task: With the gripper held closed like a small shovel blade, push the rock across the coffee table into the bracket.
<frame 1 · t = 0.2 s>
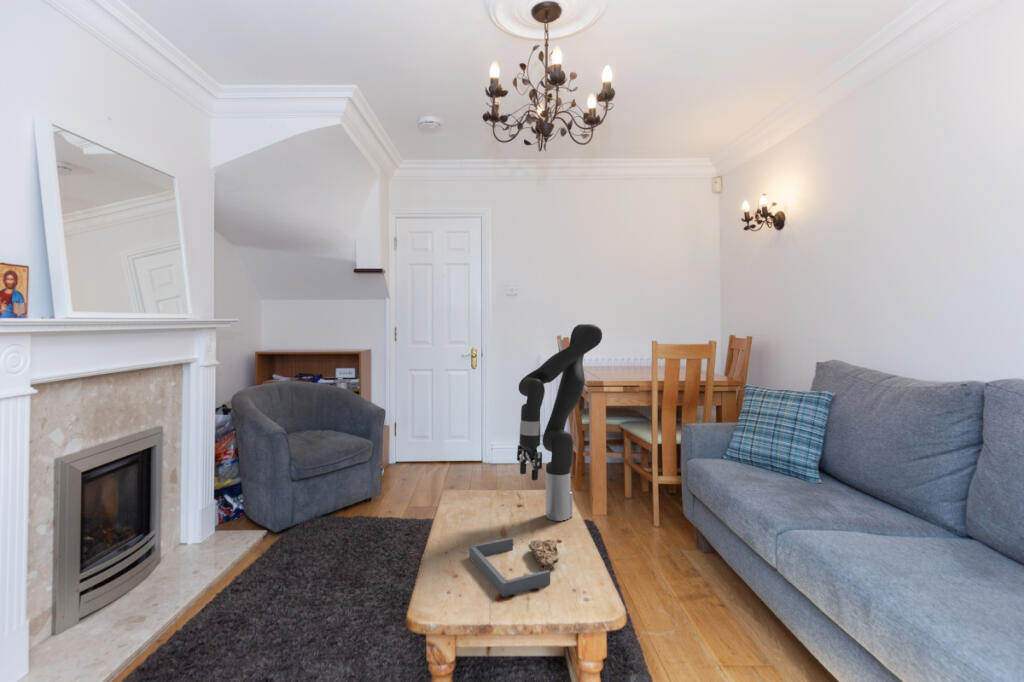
hand: (528, 476, 175), 17 cm above the table, tool pointing down, fingers open, 8 cm apart
bracket: (506, 570, 141), on the table
rock: (548, 562, 147), on the table
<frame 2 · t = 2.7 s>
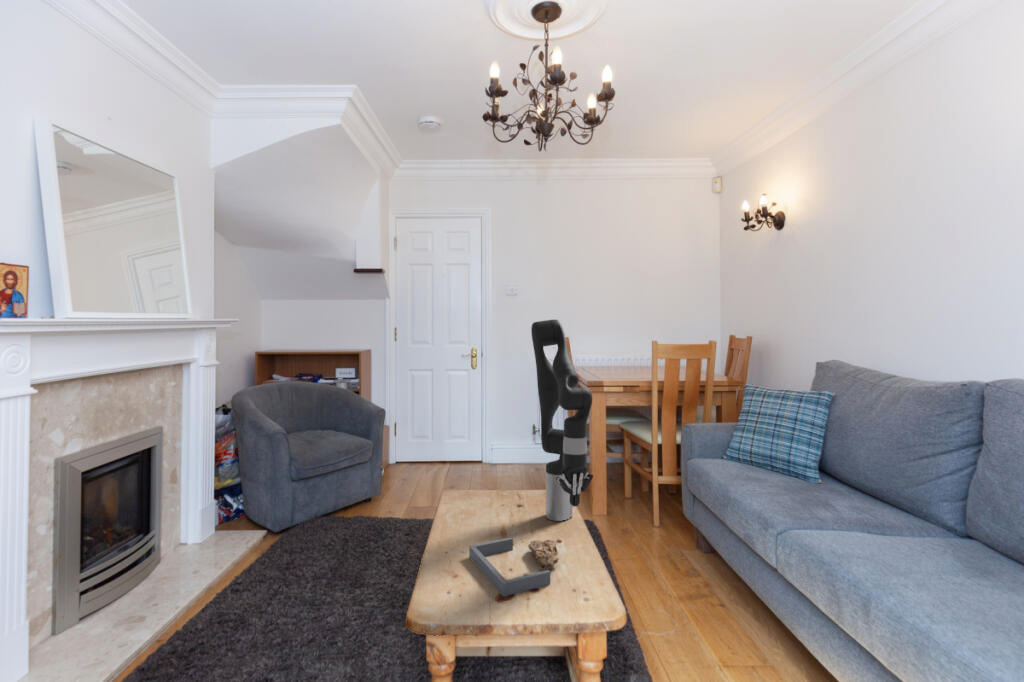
hand: (574, 505, 151), 15 cm above the table, tool pointing down, fingers closed
nothing on the table moved.
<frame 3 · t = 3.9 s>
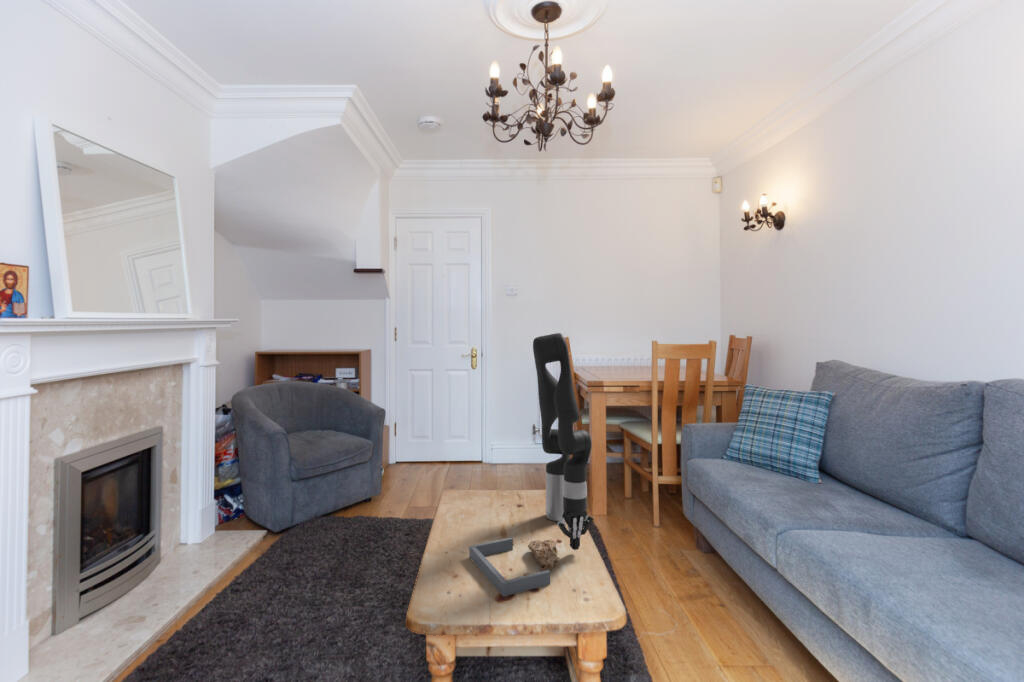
hand: (574, 548, 152), 2 cm above the table, tool pointing down, fingers closed
nothing on the table moved.
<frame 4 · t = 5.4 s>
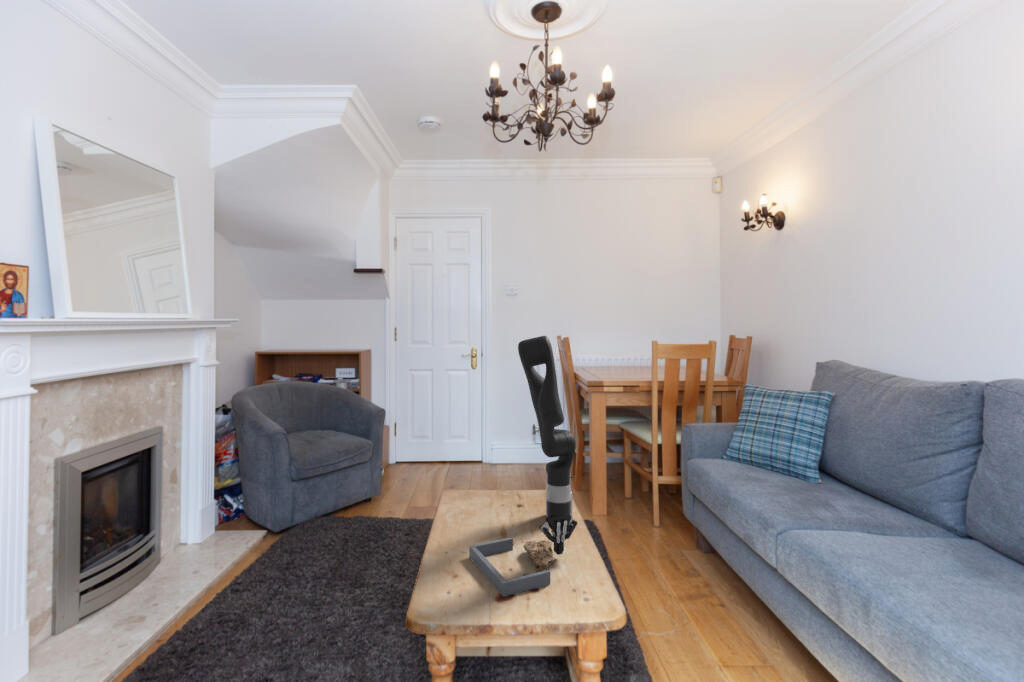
hand: (558, 553, 149), 2 cm above the table, tool pointing down, fingers closed
rock: (543, 562, 147), on the table, touching gripper
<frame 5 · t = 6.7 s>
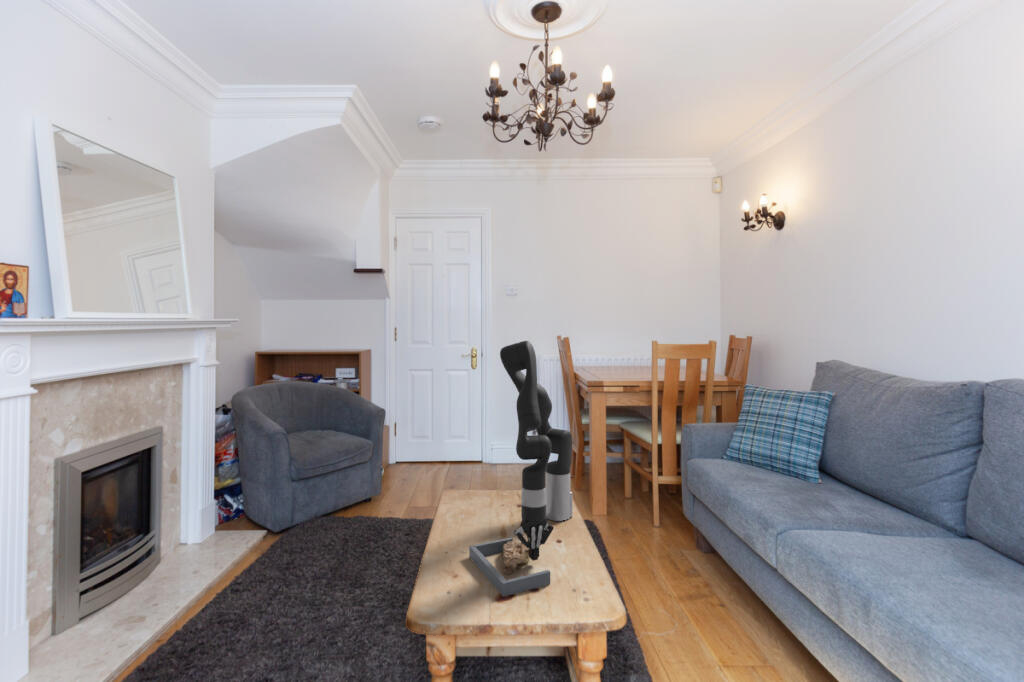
hand: (533, 559, 145), 2 cm above the table, tool pointing down, fingers closed
rock: (518, 564, 146), on the table, touching gripper
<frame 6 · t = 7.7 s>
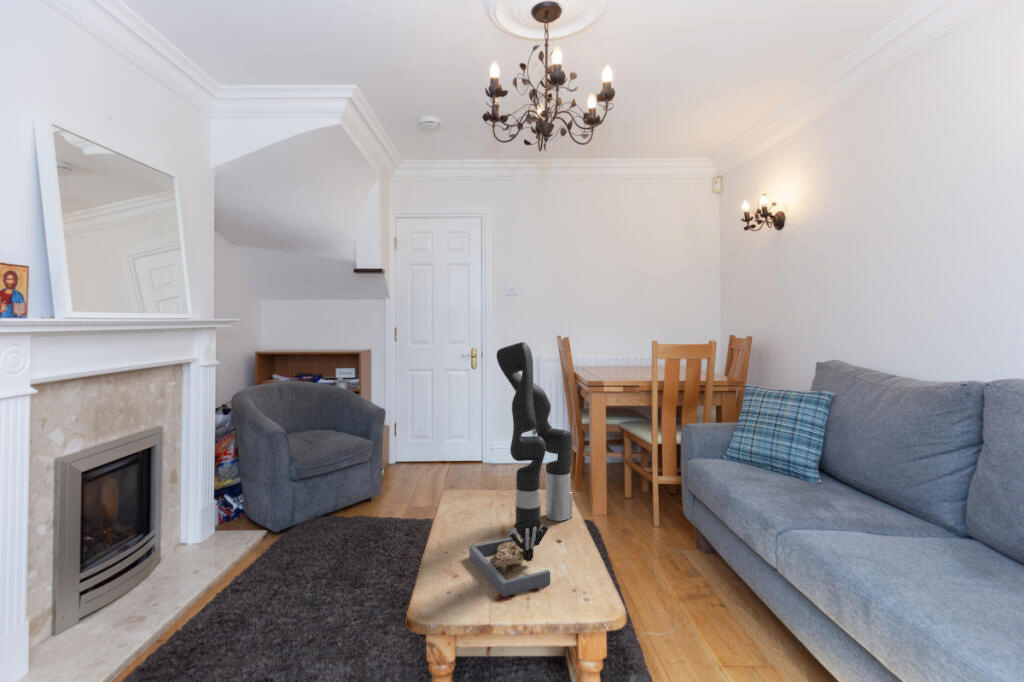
hand: (527, 560, 144), 2 cm above the table, tool pointing down, fingers closed
rock: (511, 565, 145), on the table
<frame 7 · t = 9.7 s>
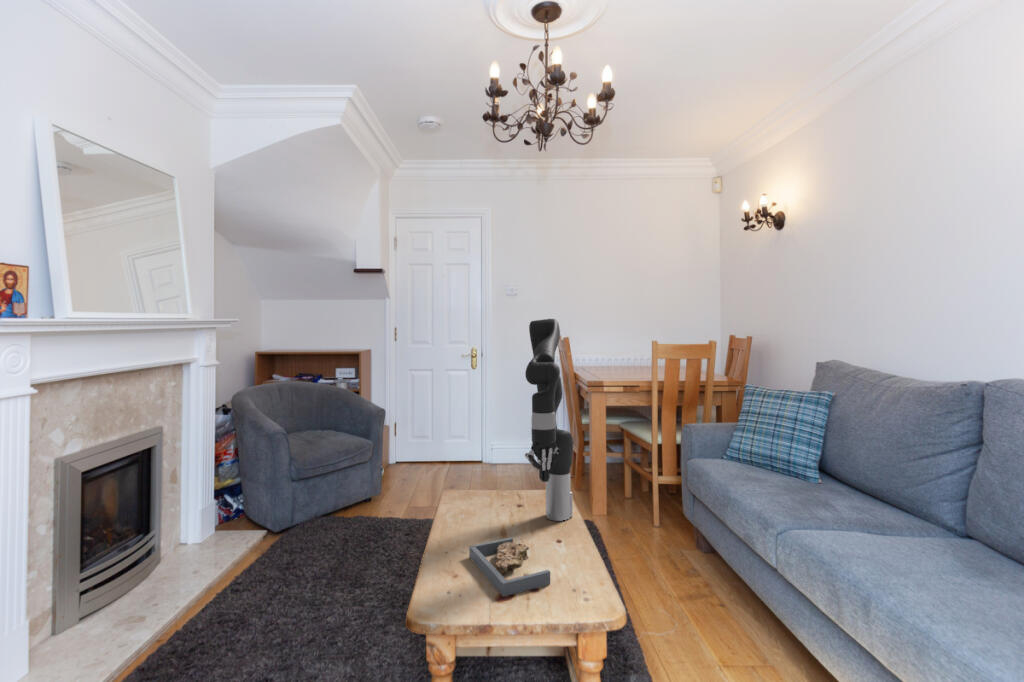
hand: (544, 481, 150), 24 cm above the table, tool pointing down, fingers closed
nothing on the table moved.
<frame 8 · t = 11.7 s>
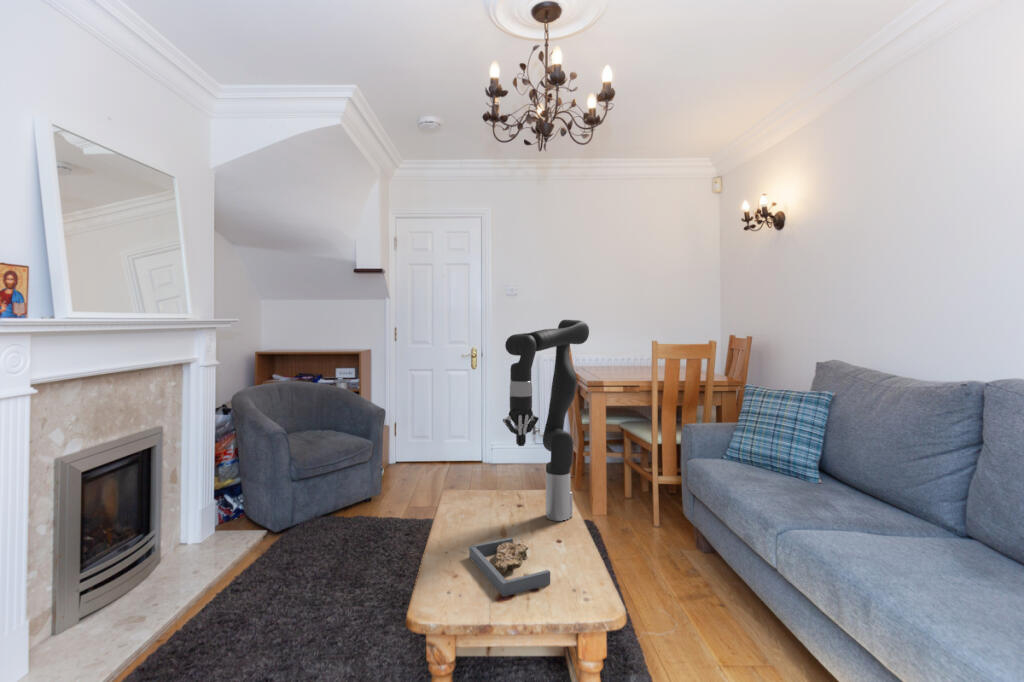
hand: (520, 445, 161), 32 cm above the table, tool pointing down, fingers closed
nothing on the table moved.
at the end: rock inside the target area on the bracket (3.7 cm from its centre), point -0.5 cm above the bracket's base; rock moved 11.4 cm from its start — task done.
